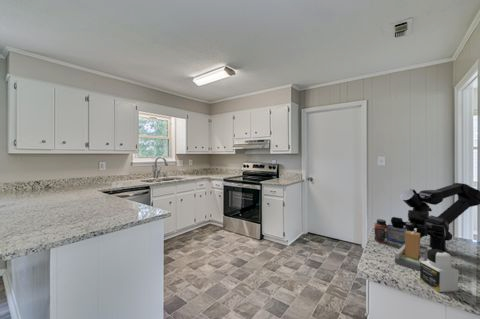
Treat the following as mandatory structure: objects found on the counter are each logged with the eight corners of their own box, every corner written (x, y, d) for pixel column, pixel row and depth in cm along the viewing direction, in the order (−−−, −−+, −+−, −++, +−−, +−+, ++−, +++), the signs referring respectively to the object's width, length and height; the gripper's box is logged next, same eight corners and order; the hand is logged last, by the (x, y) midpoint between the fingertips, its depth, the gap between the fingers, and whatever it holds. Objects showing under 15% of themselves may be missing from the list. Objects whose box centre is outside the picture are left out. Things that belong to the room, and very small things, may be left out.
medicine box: (387, 240, 115) (387, 224, 115) (387, 238, 119) (387, 222, 119) (405, 244, 111) (406, 227, 111) (405, 241, 114) (405, 224, 114)
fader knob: (407, 253, 95) (407, 230, 95) (420, 256, 92) (420, 232, 92) (404, 255, 93) (405, 232, 93) (417, 259, 89) (418, 235, 89)
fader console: (406, 249, 104) (406, 241, 104) (431, 256, 97) (431, 247, 97) (395, 262, 91) (395, 253, 91) (422, 271, 85) (422, 261, 84)
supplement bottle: (390, 244, 111) (390, 222, 110) (377, 243, 112) (377, 221, 112) (384, 239, 116) (385, 218, 116) (372, 238, 118) (372, 218, 117)
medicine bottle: (419, 280, 79) (419, 247, 79) (437, 279, 79) (438, 246, 79) (439, 292, 72) (439, 256, 71) (458, 291, 72) (459, 255, 72)
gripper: (392, 199, 104) (384, 227, 97) (445, 207, 90) (440, 240, 83) (397, 213, 109) (389, 240, 103) (447, 222, 95) (443, 254, 88)
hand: (413, 243), depth 94 cm, fingers closed, pressing on fader knob
